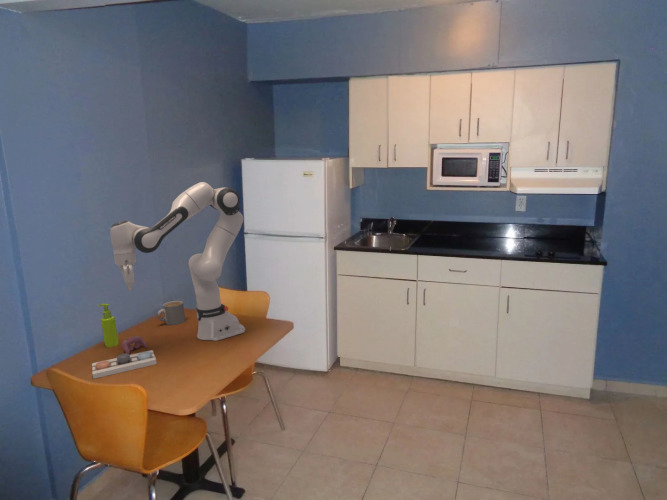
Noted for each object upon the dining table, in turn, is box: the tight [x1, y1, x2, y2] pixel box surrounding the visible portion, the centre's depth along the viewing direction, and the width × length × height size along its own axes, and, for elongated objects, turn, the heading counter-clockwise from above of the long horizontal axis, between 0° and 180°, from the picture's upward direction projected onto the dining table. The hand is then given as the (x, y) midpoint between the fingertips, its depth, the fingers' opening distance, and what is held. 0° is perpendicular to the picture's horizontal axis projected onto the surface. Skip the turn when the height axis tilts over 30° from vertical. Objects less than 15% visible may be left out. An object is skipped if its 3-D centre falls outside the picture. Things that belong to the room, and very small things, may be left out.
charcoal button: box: [116, 352, 132, 366], centre depth 201 cm, size 5×5×3 cm
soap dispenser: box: [96, 303, 119, 348], centre depth 225 cm, size 6×7×20 cm
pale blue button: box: [137, 351, 152, 361], centre depth 205 cm, size 5×5×3 cm
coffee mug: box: [156, 300, 186, 326], centre depth 252 cm, size 13×10×10 cm
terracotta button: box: [96, 360, 110, 370], centre depth 198 cm, size 5×5×3 cm
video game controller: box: [121, 335, 148, 355], centre depth 219 cm, size 10×5×7 cm, turn 142°
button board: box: [91, 349, 158, 380], centre depth 202 cm, size 24×12×2 cm, turn 117°
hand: (130, 289), depth 211 cm, fingers closed
